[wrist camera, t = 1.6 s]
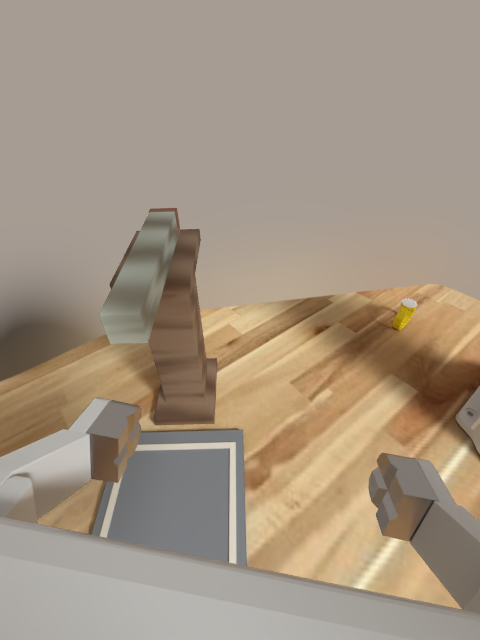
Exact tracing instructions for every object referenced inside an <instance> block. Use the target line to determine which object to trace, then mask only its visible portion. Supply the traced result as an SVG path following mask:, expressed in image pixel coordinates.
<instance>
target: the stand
mask: <svg viewBox="0 0 480 640" xmlns="http://www.w3.org/2000/svg"><path fill="white" fill-rule="evenodd" d="M139 232H140V231H137V232H136V234H135V236H134V238H133V240H132V241H131V243H130V245H129V247H128V249H127V251H126V253H125V255H124V257H123V259H122V261H121V263H120V265H119V267H118V269H117V271H116V273H115V275H114V277H113V279H112V281H111V283H110V287H111V289H112V287H113V285H114V283H115V281H116V279H117V277H118V275H119V273H120V271H121V269H122V267H123V265H124V263H125V261H126V259H127V257H128V255H129V253H130V251H131V249H132V247H133V245H134V243H135V241H136V239H137V237H138V234H139ZM199 246H200V231H199V229H188V230H180V234H179V235H178V239H177V242H176V246H175V249H174V253H173V256H172V260H171V263H170V267H169V271H168V274H167V278H166V281H165V285H164V288H163V292H162V295H161V299H160V302H159V306H158V309H157V313H156V316H155V320H154V324H153V327H152V331H151V334H150V338H149V344H150V348H151V351H152V354H153V358H154V361H155V365H156V368H157V371H158V375H159V378H160V382H161V387H160V391H159V396H158V401H157V406H156V410H155V415H154V422H155V425H180V424H214V418H215V398H216V377H217V358H215V359H206V353H205V345H204V338H203V330H202V323H201V315H200V308H199V302H198V294H197V286H196V278H195V269H196V264H197V258H198V252H199Z"/></svg>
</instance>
